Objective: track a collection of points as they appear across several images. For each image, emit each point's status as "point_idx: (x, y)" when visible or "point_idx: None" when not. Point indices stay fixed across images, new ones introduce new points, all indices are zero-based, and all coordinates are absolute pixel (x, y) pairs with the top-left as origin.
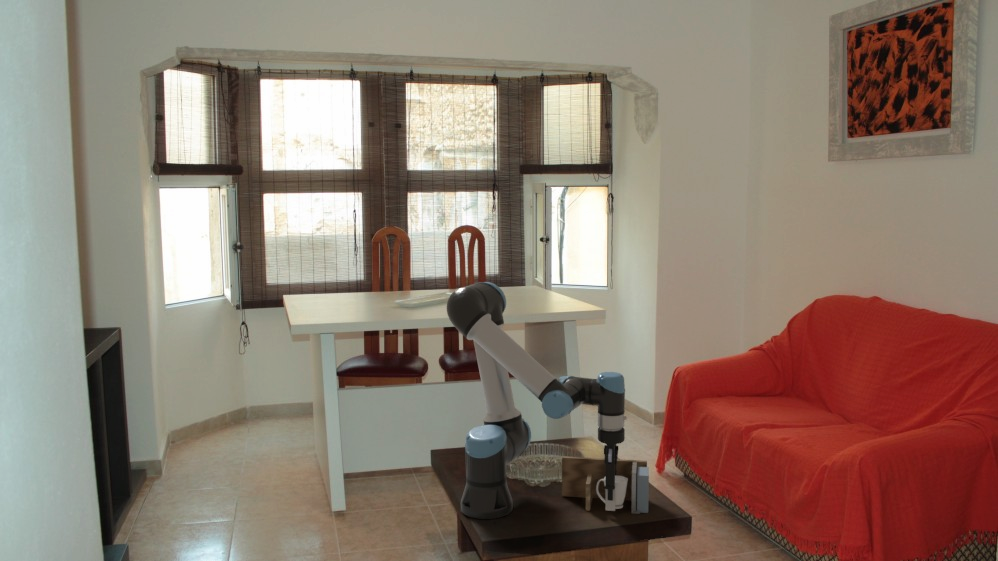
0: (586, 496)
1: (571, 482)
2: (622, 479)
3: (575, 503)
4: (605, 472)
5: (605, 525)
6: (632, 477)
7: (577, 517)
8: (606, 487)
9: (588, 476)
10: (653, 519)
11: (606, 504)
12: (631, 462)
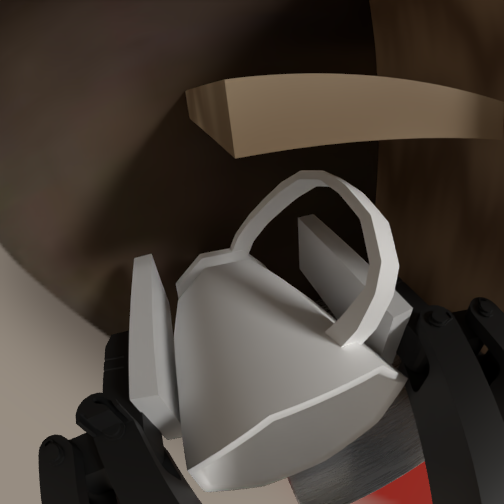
0: (195, 94)
1: None
2: (352, 414)
3: (283, 9)
4: (498, 241)
5: (39, 271)
6: (297, 495)
7: (57, 84)
8: (44, 460)
9: (469, 103)
10: None
11: (134, 289)
12: None
